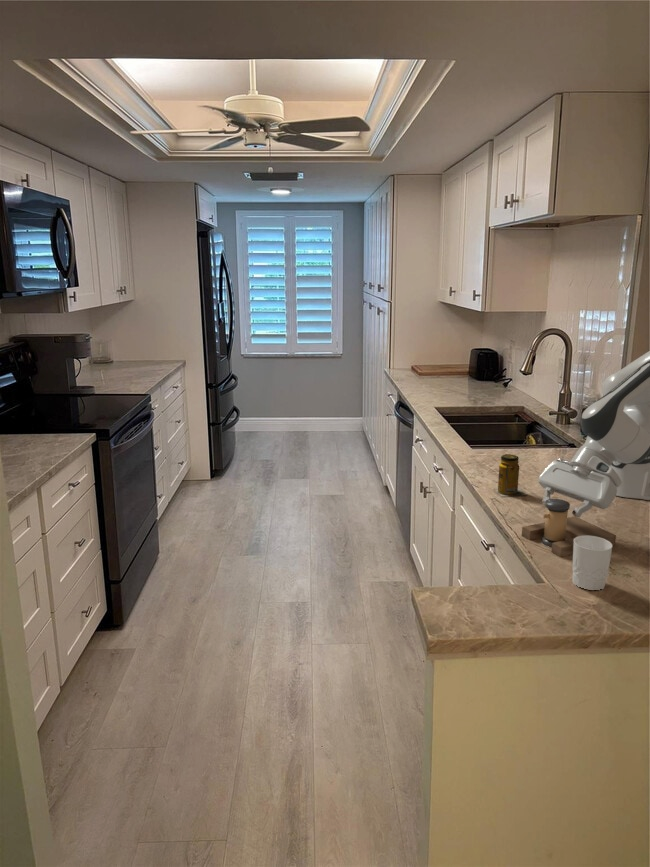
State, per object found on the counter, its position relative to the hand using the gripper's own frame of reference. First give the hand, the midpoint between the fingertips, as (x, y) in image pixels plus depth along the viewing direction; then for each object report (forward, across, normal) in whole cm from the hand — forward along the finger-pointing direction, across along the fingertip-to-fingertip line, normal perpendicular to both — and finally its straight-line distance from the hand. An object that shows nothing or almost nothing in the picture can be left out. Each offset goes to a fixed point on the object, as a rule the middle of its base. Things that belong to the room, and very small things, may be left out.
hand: (559, 509), depth 161 cm
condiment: (-6, -32, +18) cm, 37 cm away
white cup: (+16, +20, -4) cm, 25 cm away
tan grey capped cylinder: (+8, +1, +4) cm, 9 cm away
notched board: (+4, +2, +7) cm, 9 cm away
